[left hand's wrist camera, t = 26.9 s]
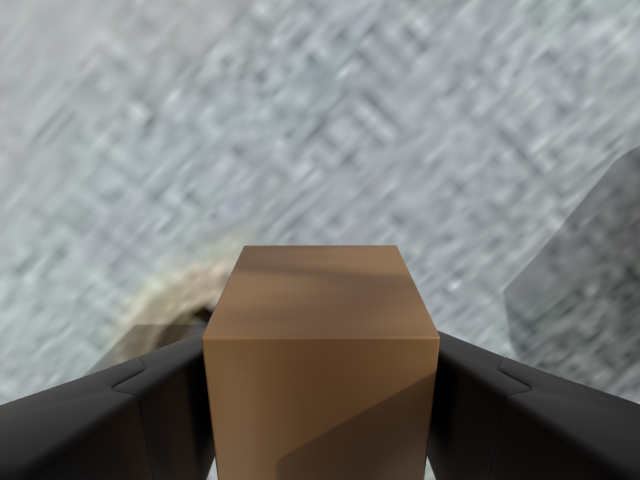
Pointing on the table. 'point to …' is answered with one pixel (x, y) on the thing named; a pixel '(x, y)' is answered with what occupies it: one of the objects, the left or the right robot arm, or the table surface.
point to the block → (320, 366)
